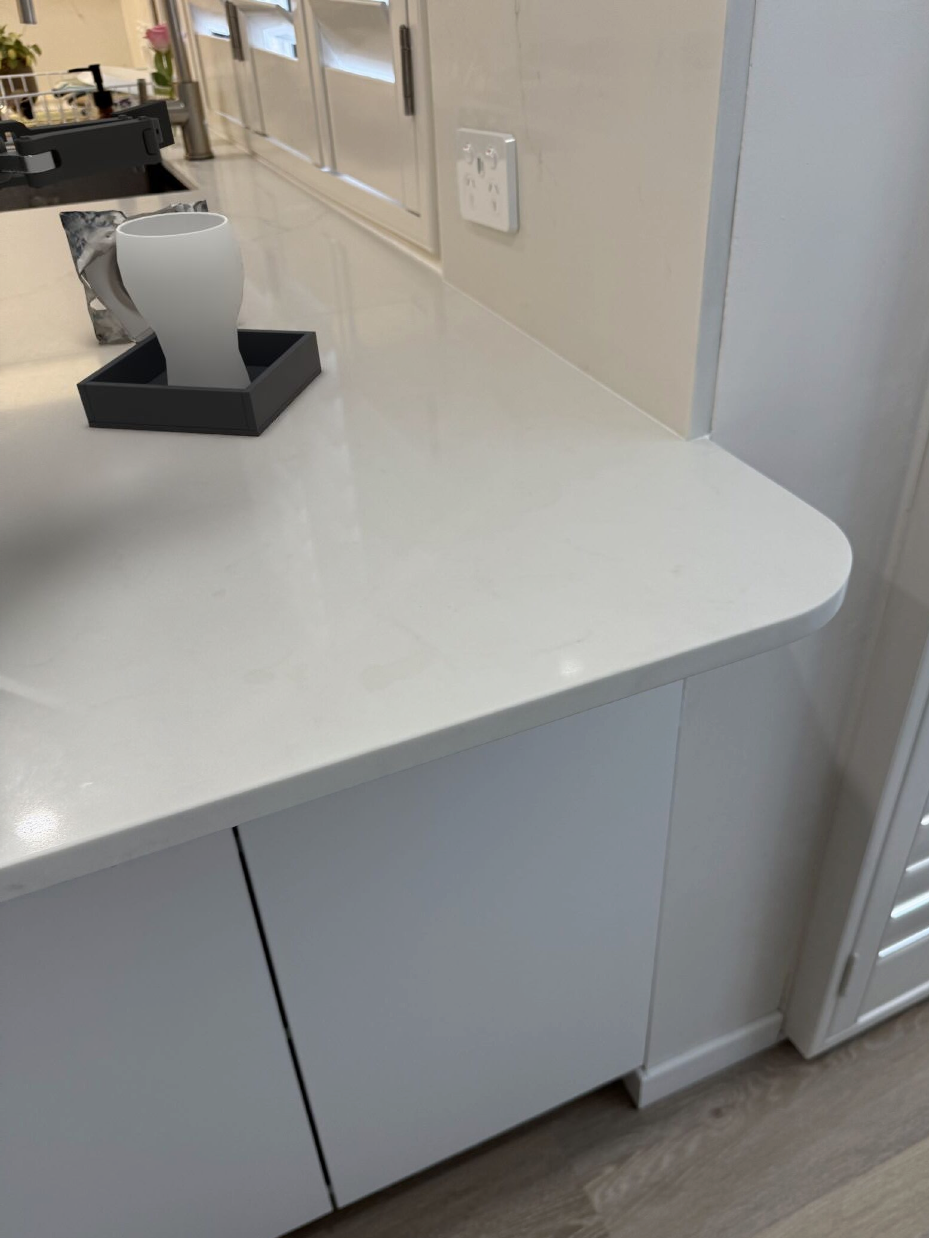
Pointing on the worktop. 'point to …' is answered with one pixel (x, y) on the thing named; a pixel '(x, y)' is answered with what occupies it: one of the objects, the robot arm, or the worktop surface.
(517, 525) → the worktop surface
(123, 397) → the tray
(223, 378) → the cup
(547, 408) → the worktop surface
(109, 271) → the meal
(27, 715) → the worktop surface
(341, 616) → the worktop surface
